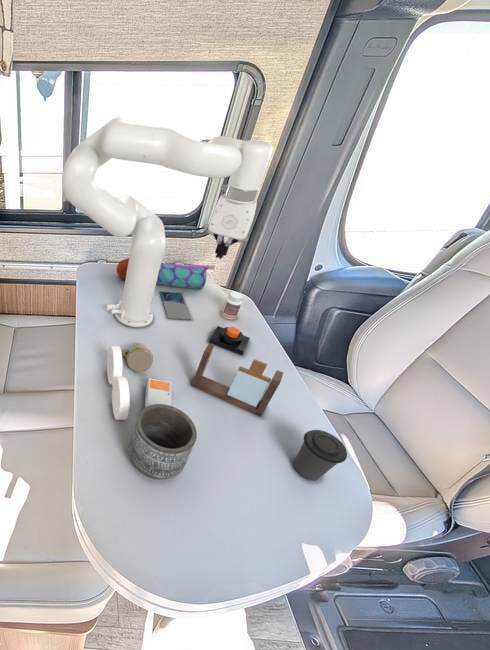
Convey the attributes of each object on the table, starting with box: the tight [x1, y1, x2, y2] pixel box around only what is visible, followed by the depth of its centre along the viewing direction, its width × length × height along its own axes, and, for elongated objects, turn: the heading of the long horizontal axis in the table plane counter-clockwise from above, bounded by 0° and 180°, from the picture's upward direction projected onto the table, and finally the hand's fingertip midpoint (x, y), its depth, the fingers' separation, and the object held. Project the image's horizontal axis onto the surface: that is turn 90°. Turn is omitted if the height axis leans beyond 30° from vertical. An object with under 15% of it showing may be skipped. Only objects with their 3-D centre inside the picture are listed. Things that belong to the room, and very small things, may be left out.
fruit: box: [116, 257, 129, 280], centre depth 148 cm, size 9×9×8 cm
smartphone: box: [160, 291, 192, 321], centre depth 137 cm, size 8×1×16 cm
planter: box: [128, 404, 198, 481], centre depth 83 cm, size 12×12×13 cm
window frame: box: [191, 343, 284, 417], centre depth 100 cm, size 18×4×12 cm, turn 55°
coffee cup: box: [292, 429, 348, 482], centre depth 84 cm, size 8×8×10 cm
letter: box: [106, 345, 131, 421], centre depth 100 cm, size 22×2×10 cm, turn 0°
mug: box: [122, 342, 154, 373], centre depth 111 cm, size 8×10×10 cm
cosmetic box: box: [144, 377, 173, 408], centre depth 99 cm, size 6×4×12 cm
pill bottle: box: [221, 291, 244, 320], centre depth 131 cm, size 5×5×8 cm
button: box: [226, 326, 241, 338], centre depth 119 cm, size 4×4×2 cm
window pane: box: [227, 358, 272, 407], centre depth 97 cm, size 7×1×13 cm, turn 55°
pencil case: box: [156, 260, 210, 290], centre depth 145 cm, size 21×9×10 cm, turn 76°
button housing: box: [208, 325, 251, 356], centre depth 121 cm, size 10×8×4 cm
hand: (219, 256), depth 113 cm, fingers closed
